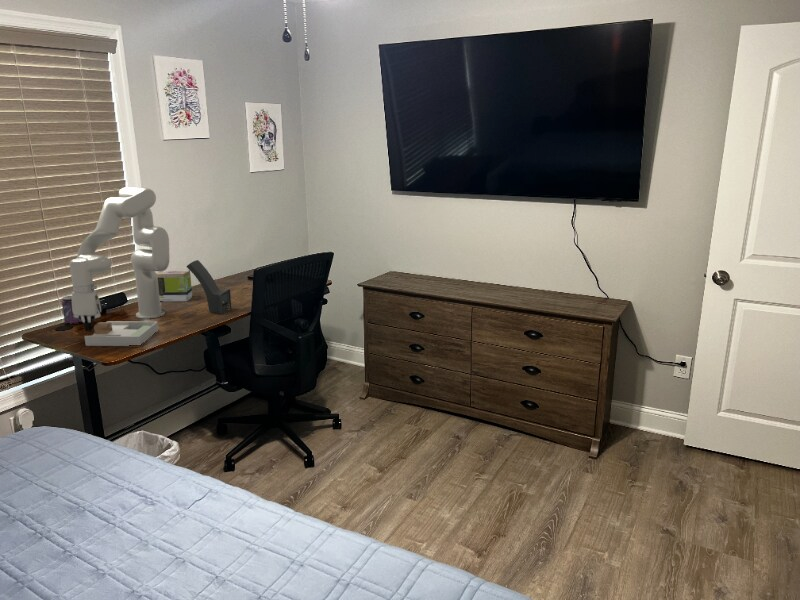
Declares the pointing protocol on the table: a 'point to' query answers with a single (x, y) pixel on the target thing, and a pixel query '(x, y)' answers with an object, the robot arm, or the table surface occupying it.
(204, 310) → the table surface
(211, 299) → the light fixture
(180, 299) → the tea box
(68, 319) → the beverage can
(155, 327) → the box
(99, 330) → the walnut block
